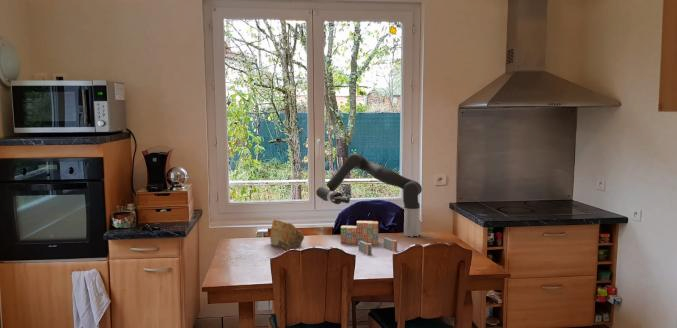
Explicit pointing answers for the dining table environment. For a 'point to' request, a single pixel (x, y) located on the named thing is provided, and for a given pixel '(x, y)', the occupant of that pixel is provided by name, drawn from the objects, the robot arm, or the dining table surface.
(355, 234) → the stack of blocks
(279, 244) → the rough brown rock
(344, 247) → the dining table surface
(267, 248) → the dining table surface
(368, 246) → the spaced upright blocks
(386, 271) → the dining table surface
